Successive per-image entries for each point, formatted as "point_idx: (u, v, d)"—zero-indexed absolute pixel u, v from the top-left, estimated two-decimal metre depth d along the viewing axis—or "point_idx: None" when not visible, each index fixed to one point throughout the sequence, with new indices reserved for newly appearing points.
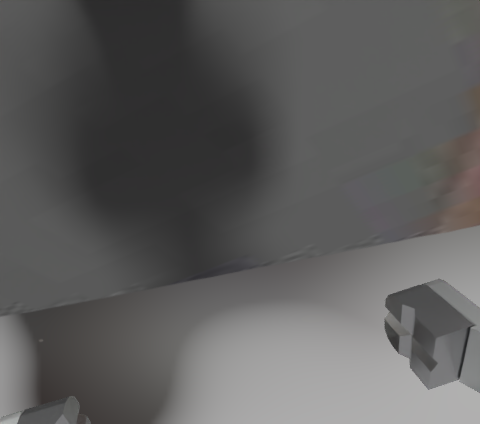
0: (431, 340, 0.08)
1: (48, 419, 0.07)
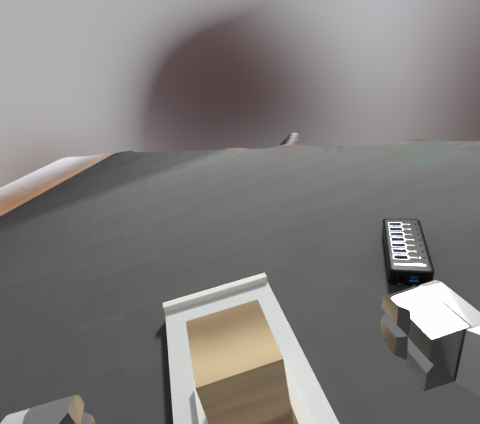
0: (427, 342, 0.08)
1: (53, 417, 0.07)
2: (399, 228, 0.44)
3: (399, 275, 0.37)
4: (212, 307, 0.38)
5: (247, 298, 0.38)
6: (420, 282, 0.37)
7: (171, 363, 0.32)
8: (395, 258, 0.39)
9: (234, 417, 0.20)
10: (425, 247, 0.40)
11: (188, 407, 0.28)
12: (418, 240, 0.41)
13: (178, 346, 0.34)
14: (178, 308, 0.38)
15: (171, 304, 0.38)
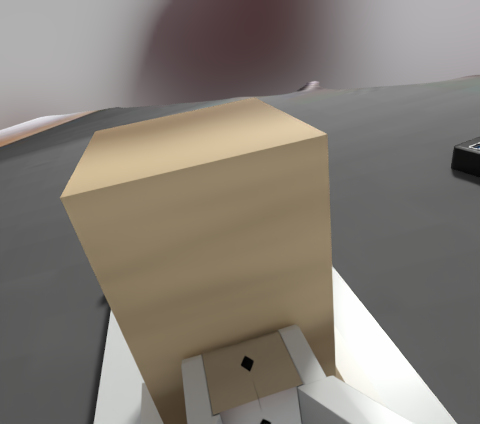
0: None
1: (233, 359, 0.08)
2: None
3: None
4: None
5: None
6: None
7: (110, 347, 0.16)
8: None
9: (194, 321, 0.08)
10: None
11: None
12: None
13: None
14: None
15: None
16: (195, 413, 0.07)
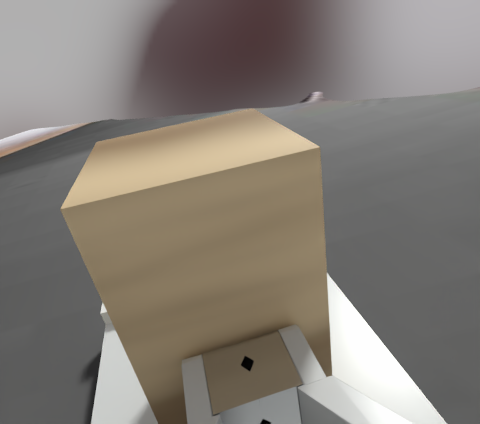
0: None
1: (233, 359, 0.08)
2: None
3: None
4: None
5: None
6: None
7: None
8: None
9: (191, 329, 0.08)
10: None
11: None
12: None
13: (118, 410, 0.13)
14: None
15: None
16: (195, 413, 0.07)
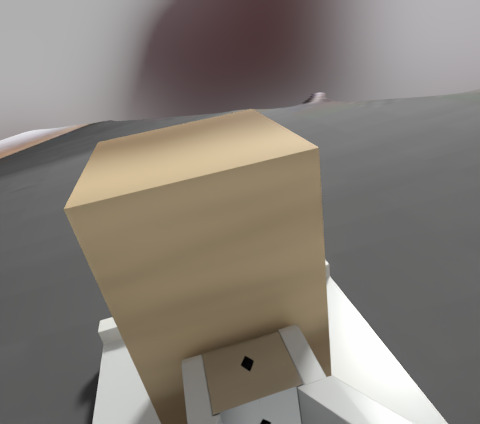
0: None
1: (233, 359, 0.08)
2: None
3: None
4: None
5: None
6: None
7: None
8: None
9: (192, 326, 0.08)
10: None
11: None
12: None
13: None
14: None
15: None
16: (195, 413, 0.07)
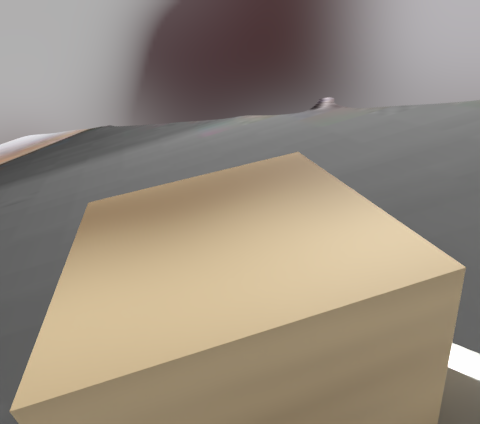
0: None
1: None
2: None
3: None
4: None
5: None
6: None
7: None
8: None
9: None
10: None
11: None
12: None
13: None
14: None
15: None
16: None
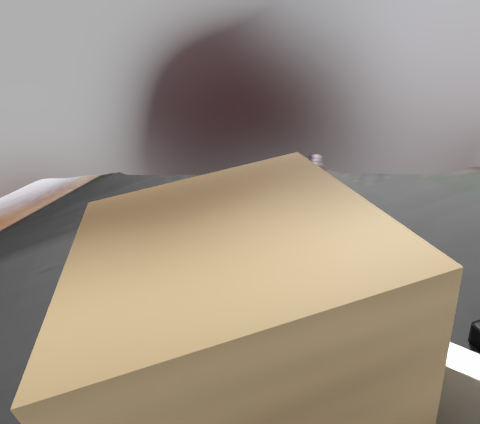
0: None
1: None
2: None
3: None
4: None
5: None
6: None
7: None
8: None
9: None
10: None
11: None
12: None
13: None
14: None
15: None
16: None
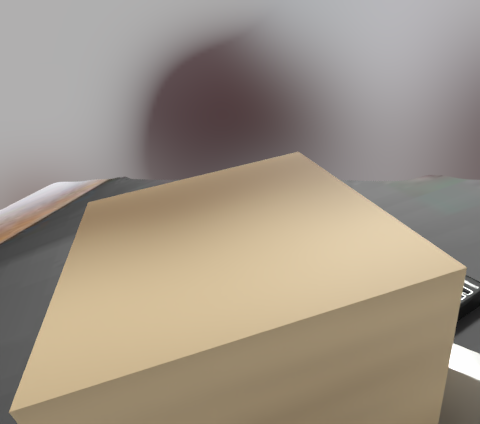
0: None
1: None
2: None
3: None
4: None
5: None
6: None
7: None
8: (470, 291, 0.38)
9: None
10: None
11: None
12: None
13: None
14: None
15: None
16: None
